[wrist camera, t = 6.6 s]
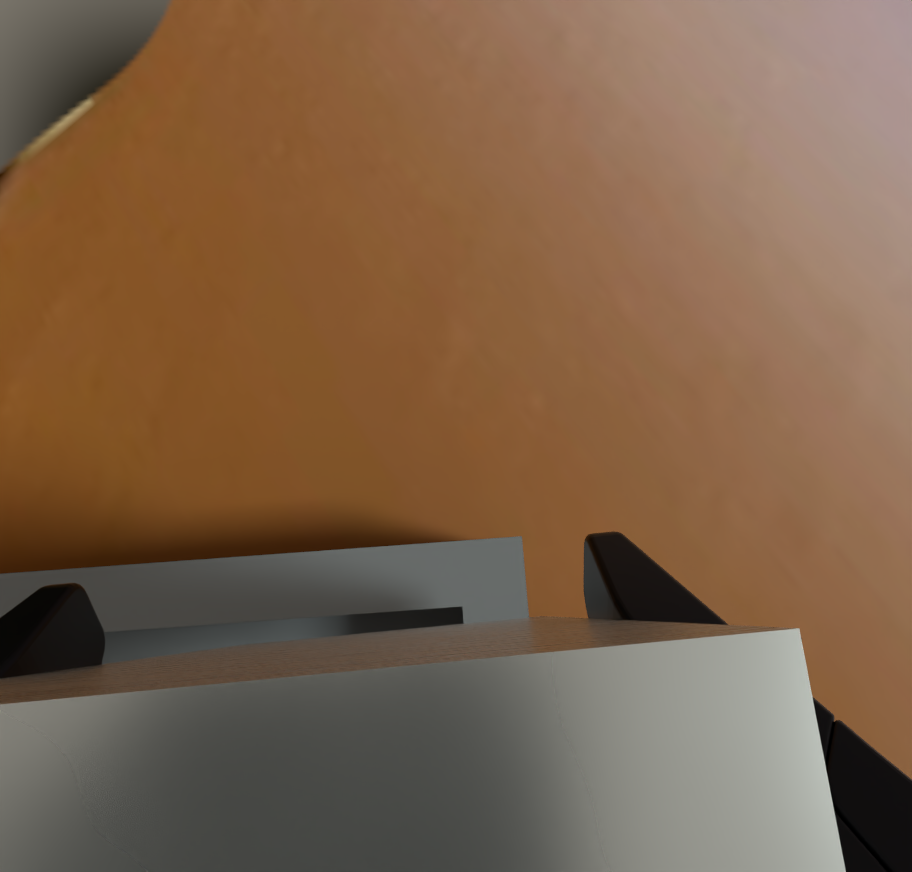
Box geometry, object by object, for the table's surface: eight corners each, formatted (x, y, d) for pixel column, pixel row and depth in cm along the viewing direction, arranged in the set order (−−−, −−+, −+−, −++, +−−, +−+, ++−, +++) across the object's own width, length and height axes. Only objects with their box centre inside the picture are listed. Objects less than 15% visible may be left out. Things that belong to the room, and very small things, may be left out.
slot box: (527, 739, 21) (542, 774, 16) (-47, 779, 21) (-185, 825, 16) (511, 550, 22) (521, 536, 18) (-33, 589, 22) (-158, 585, 18)
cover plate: (551, 690, 15) (870, 999, 3) (243, 719, 15) (-666, 1145, 3) (543, 616, 15) (799, 630, 3) (242, 644, 15) (-588, 761, 3)
